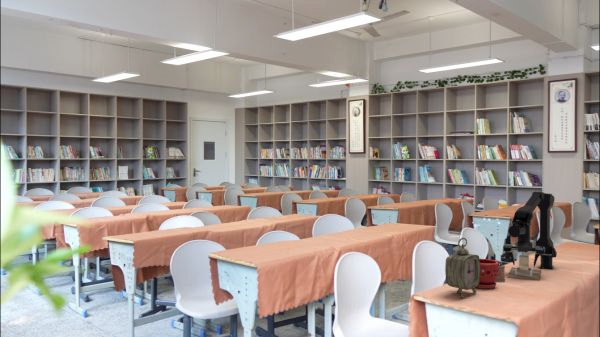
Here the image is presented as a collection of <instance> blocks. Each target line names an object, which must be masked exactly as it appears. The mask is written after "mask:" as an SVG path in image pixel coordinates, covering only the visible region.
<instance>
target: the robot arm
mask: <svg viewBox="0 0 600 337" xmlns="http://www.w3.org/2000/svg"><path fill="white" fill-rule="evenodd" d="M555 199H556V198H555V195H553V193H546V192H543V191H533V192H532V193H531V196H530V197H529V199H528V200H526V202H525V204H524V205H523V206H520V207H519V208H518V209H516V210H515V212H514V215H513V218H512V222H511V226H510V227H509V228H508V230H507V231H508V235H509V236H510V237H512V238H517V242H516V246H515V245H513V243H512V244H509V243H505V244H504V245H503V246H502V250H503V252H505V253H506V254H508V255H509V257H510V259H511V262H512V264H513V266H515V265H516V264H515V263H516V260H515V253H514V252H515V251H516V252H518V253H529V252H535V253H534V259H533V267H534V268H535V266H536V265H537V264H536V263H537V261H538V259H539V257H540V264H539V269H548V270H554V265H553V258H557V253H558V252H557V251H556V248H555V247H554V246H555V245H554V242H553V240H552V238H551V209H552V208H553V206H554V205H555V204H554V202H555ZM537 208H538V209H539V238H538V239H537V240H536V241H535V247H533V245H534V244H533V242H532V241H531V226H532V220H533V218H534V211H535V210H536V209H537Z"/></svg>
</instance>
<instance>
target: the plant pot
mask: <svg viewBox="0 0 600 337" xmlns="http://www.w3.org/2000/svg"><path fill="white" fill-rule="evenodd" d="M479 259H480V282H479V284H478V286H476V287H475V288H479V289H493V288H495V287H496V286H497V282H495V280H496V278H497V275H498V267H499V265H500V264H499V263H498V262H497V261H495V260H494V259H489V258H488V259H487V258H479ZM488 270H489V271H488ZM493 271H494V272H493Z"/></svg>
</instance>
